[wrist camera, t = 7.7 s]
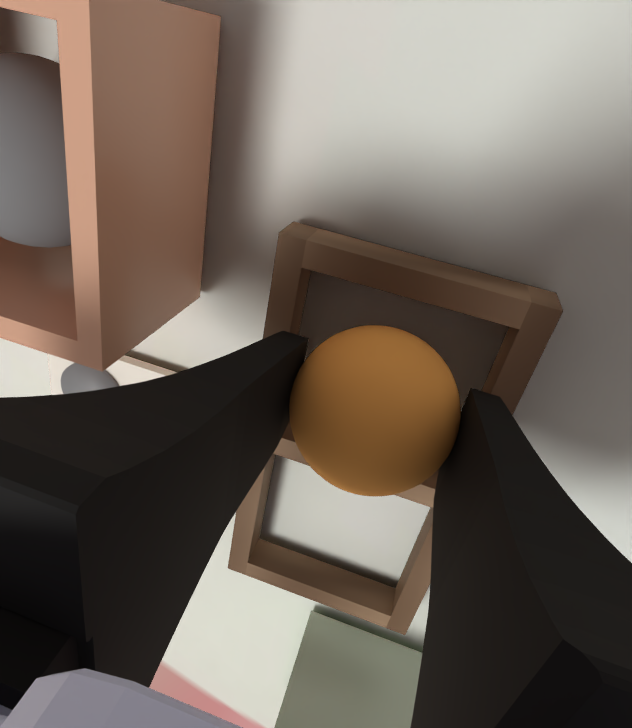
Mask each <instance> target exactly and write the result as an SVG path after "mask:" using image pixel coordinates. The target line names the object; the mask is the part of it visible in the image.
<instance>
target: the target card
mask: <svg viewBox="0 0 632 728" xmlns="http://www.w3.org/2000/svg"><path fill="white" fill-rule="evenodd" d="M47 356H48V366H49V376H50V386H51V395H59V394H69V393H78V392H86V391H94V390H100V389H105V388H111V387H117V386H122V385H128V384H134V383H139V382H144V381H148V380H152V379H156V378H160V377H164V376H167V375H171V374H174V373H178V372H175V371H171V370H168V369H165V368H162V367H159V366H156V365H153V364H150V363H147V362H144V361H141V360H138V359H135V358H132V357H129V356H125V355H124V356H122V357H121V358H120V359H118V360H117V361H116V362H115V363H113V364H112V365H111V366H109V367H108V368H107V369H105V370H104V371H103V372H102V371H99V370H96V369H93V368H90V367H87V366H84V365H81V364H78V363H75V362H72V361H69V360H66V359H63V358H60V357H57V356H54V355H51V354H48V353H47Z"/></svg>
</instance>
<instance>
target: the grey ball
mask: <svg viewBox="0 0 632 728" xmlns="http://www.w3.org/2000/svg"><path fill="white" fill-rule="evenodd" d="M0 237H2V238H4V239H6V240H9V241H12V242H15V243H19V244H23V245H27V246H32V247H47V248H52V247H62V246H69V245H71V233H70V217H69V202H68V186H67V171H66V155H65V140H64V124H63V109H62V93H61V78H60V64H59V63H57V62H54V61H52V60H49V59H46V58H43V57H40V56H36V55H30V54H23V53H0Z"/></svg>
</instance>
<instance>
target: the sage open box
mask: <svg viewBox="0 0 632 728" xmlns="http://www.w3.org/2000/svg"><path fill="white" fill-rule="evenodd" d="M421 659H422V653H421V652H419V651H416V650H413V649H411V648H408V647H406V646H403V645H400V644H398V643H395V642H392V641H390V640H387V639H385V638H382V637H379V636H377V635H374V634H371V633H369V632H366V631H364V630H361V629H358V628H356V627H353V626H350V625H348V624H345V623H343V622H340V621H337V620H335V619H332V618H329V617H327V616H324V615H322V614H319V613H316V612H314V611H311V613H310V617H309V620H308V623H307V626H306V629H305V632H304V636H303V639H302V642H301V645H300V648H299V652H298V655H297V658H296V661H295V664H294V667H293V671H292V674H291V677H290V680H289V683H288V686H287V690H286V693H285V696H284V699H283V702H282V706H281V709H280V712H279V715H278V718H277V721H276V725H275V728H410V727H411V721H412V716H413V710H414V703H415V697H416V691H417V685H418V678H419V672H420V666H421Z"/></svg>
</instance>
